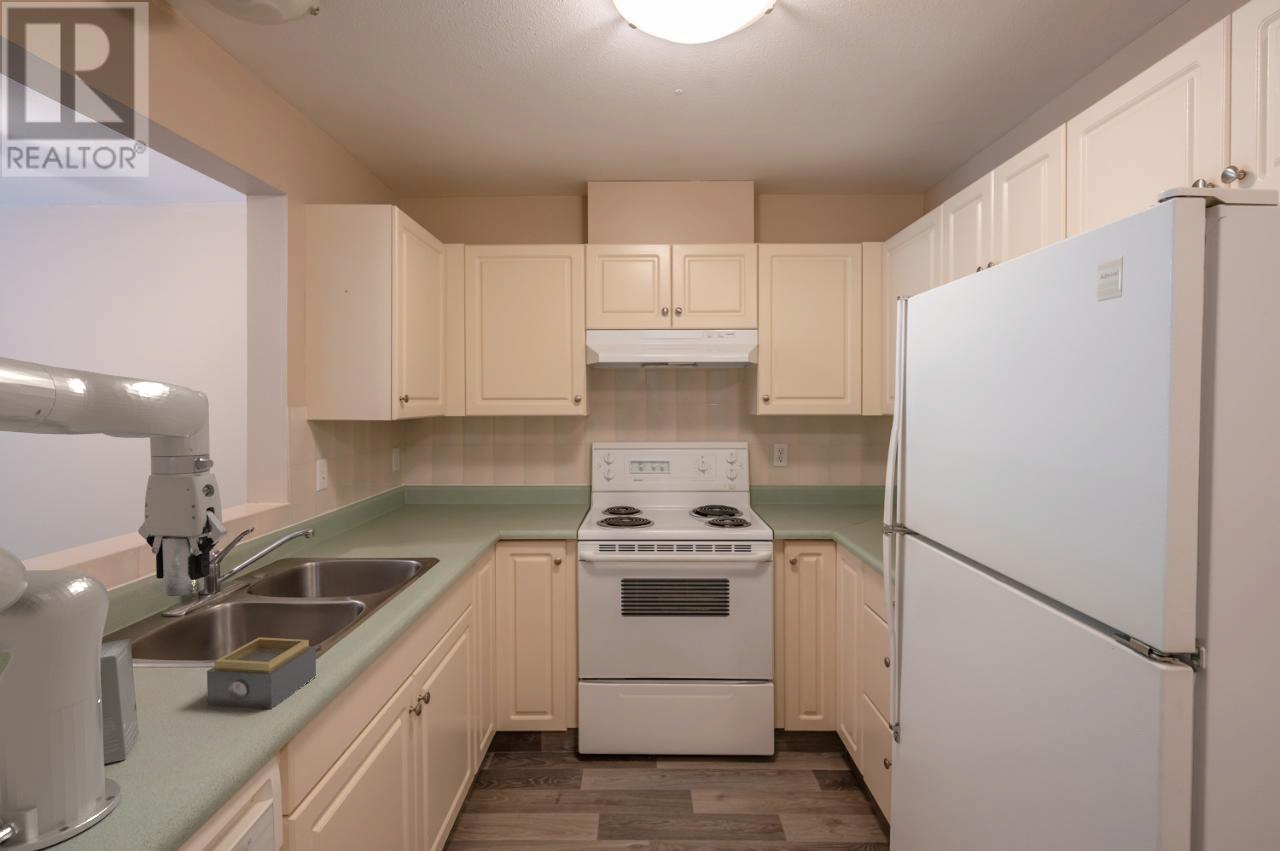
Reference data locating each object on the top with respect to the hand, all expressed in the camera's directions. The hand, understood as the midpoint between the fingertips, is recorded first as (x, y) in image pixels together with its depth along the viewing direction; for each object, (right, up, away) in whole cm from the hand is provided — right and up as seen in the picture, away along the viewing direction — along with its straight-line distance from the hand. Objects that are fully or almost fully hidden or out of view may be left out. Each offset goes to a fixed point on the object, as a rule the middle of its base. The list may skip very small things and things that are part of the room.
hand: (183, 575), depth 95 cm
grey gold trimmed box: (+6, -24, +11) cm, 27 cm away
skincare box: (-6, -25, -8) cm, 27 cm away
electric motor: (0, -3, 0) cm, 3 cm away
